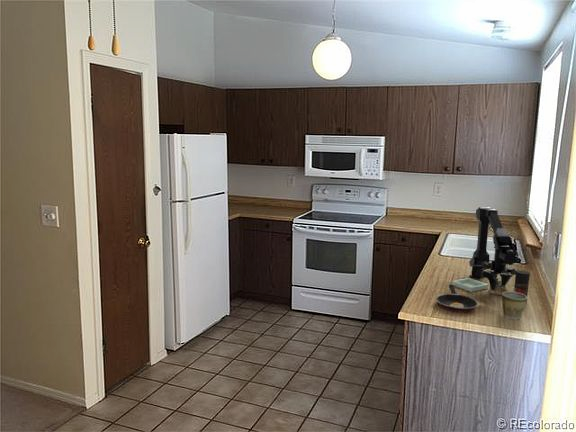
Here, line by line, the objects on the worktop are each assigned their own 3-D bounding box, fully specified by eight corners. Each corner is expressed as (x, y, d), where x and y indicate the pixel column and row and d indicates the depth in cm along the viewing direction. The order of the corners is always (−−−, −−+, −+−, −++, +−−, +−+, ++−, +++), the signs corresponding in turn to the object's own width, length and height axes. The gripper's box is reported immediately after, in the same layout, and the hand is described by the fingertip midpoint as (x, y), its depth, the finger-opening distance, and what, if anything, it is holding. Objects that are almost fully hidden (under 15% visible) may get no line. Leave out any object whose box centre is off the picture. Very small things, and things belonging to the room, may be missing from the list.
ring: (495, 288, 244) (496, 282, 243) (511, 294, 236) (511, 287, 236) (486, 290, 240) (487, 284, 240) (501, 296, 233) (502, 290, 232)
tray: (468, 282, 255) (468, 277, 254) (487, 289, 244) (488, 284, 244) (451, 285, 249) (452, 280, 249) (471, 292, 238) (471, 287, 238)
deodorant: (509, 300, 228) (513, 270, 225) (519, 299, 230) (522, 269, 227) (519, 305, 222) (523, 274, 220) (529, 303, 224) (532, 273, 222)
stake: (495, 288, 245) (496, 277, 244) (509, 293, 238) (511, 282, 236) (484, 291, 241) (485, 280, 240) (498, 296, 234) (500, 284, 232)
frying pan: (436, 312, 212) (437, 304, 211) (431, 289, 243) (431, 282, 242) (481, 316, 208) (482, 308, 208) (469, 292, 239) (470, 285, 238)
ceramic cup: (517, 323, 201) (519, 300, 199) (495, 315, 209) (497, 294, 207) (532, 316, 209) (535, 294, 207) (510, 309, 217) (513, 288, 215)
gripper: (498, 253, 247) (496, 282, 250) (474, 257, 239) (471, 287, 241) (518, 258, 238) (514, 288, 241) (493, 263, 229) (490, 293, 232)
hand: (497, 289), depth 239 cm, fingers closed on ring, 7 cm apart
